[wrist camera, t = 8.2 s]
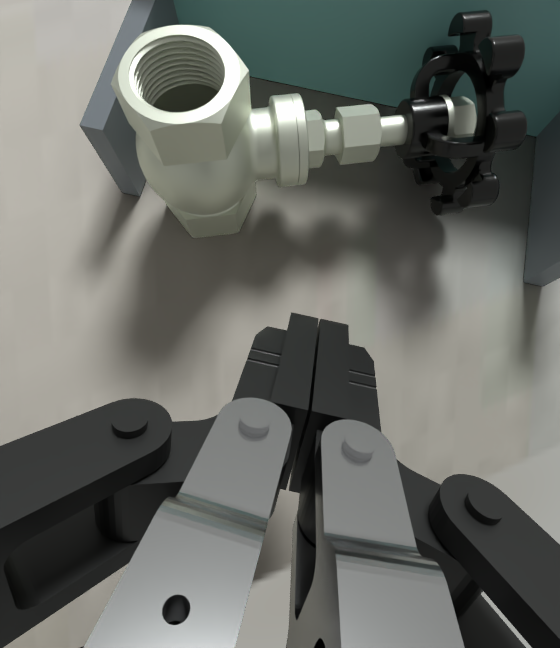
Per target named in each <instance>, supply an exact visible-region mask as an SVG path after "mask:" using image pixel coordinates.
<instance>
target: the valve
mask: <svg viewBox="0 0 560 648" xmlns="http://www.w3.org/2000/svg"><path fill="white" fill-rule="evenodd" d="M492 24H493V22H492V16H491V13H490V12H489V11H488V10H478V11H468V12H459V13H457V14H456V15H455V16H454V17H453V19H452V21H451V23H450V26H449V30H448V36H449V37H452V36H460V47H459V51H458V48H457V47H456V46H455V45H443V46H432V47H429V48H427V50H426V51H425V53H424V56H423V61H422V67H421V68H420V69H419V70H418V71H417V73H416V74H415V76H414V78H413V81H412V84H411V88H410V98H407V99H403V100H402V101H401V102H400V103H399V105H398V107H397V110H396V113H395V115H394V116H385V117H380V113H379V111H378V109H377V108H376V107H375V106H374V105H372V104H365V105H355V106H346V107H336V111H335V116H334V119H331V120H323V119H322V116H321V114H320V113H319V112H318V111H317V110H307V111H305V107H304V103H303V100H302V97H301V96H300V94H298V93H295V94H285V95H274V96H271V97H270V99H269V106H268V107H266V108H256V109H251V97H250V79H249V70H248V68H247V67H246V66H245V64H244V63H243V61H242V60H241V59H240V57H239V56H238V55H237V54H236V52H235V51H234V50H233V49H232V48H231V46H230V45H229V44H228V43H227V42H226V41H225V40H224V39H223V38H222V37H221V36H220V35H219V34H218V33H216V32H215V31H214V30H212V29H211V28H210V27H205V26H198V25H172V26H165V27H160V28H156V29H152V30H149V31H146V32H144V33H142V34H140V35H139V36H138V37H137V38H136V39H135V40H134V42H133V43H132V44H131V45H130V47H129V48H128V50H127V51H126V52H125V54H124V56H123V58H122V60H121V61H120V63H119V65H118V67H117V69H116V72H115V74H114V76H113V79H112V82H111V86H112V88H113V90H114V92H115V94H116V96H117V99H118V101H119V103H120V105H121V107H122V109H123V112H124V114H125V116H126V118H127V120H128V122H129V124H130V125H131V126H132V128H133V129H134V130H135V131H136V151H137V157H138V161H139V164H140V167H141V169H142V172H143V174H144V176H145V178H146V180H147V181H148V183H149V184H150V186H151V187H152V189H153V190H154V191H155V192H156V193H157V194H158V195H159V196H160V197H161V198H162V199H163V200H164V201H165V202H166V205H167V206H168V207H169V209H170V210H171V211H172V213H173V214H174V215H175V216H176V218H177V219H178V220H179V221H180V223H181V224H182V225H183V226H184V228H185V229H186V230H187V231H188V233H189V234H190V235H191V236H192V238H201V237H210V236H218V235H226V234H234V233H238V232H239V231H240V229H241V227H242V225H243V223H244V221H245V218H246V216H247V214H248V212H249V210H250V208H251V206H252V204H253V201H254V199H255V197H256V183H255V181H257V180H263V179H273V178H274V179H276V182H277V185H278V186H279V187H286V186H296V185H304V184H305V183H306V182H307V179H308V172H309V168H317V167H321V165H322V163H323V160H324V157H325V156H327V155H335V156H336V158H337V160H338V162H339V164H340V165H344V164H353V163H362V162H371V161H374V160H375V158H376V157H377V155H378V153H379V150H380V147H386V146H395V149H396V152H397V154H398V156H399V157H400V158H402V160H403V163H404V164H405V165H406V166H407V167H409V168H413V173H414V177H415V181H416V183H417V184H418V185H421V184H430V183H439V184H440V185H442V186H443V190H442V194H441V196H433V197H431V199H430V203H431V209H432V211H433V213H434V214H435V215H446V214H454V213H460V212H461V211H463V209H464V208H471V207H480V206H488V205H491V204H493V203H494V202H495V200H496V199H497V196H498V193H499V181H498V178H497V176H496V175H495V174H494V173H492V172H491V163H492V160H493V157H494V155H495V153H496V152H499V151H508V150H514V149H516V148H518V147H519V146H520V145H521V144H522V142H523V141H524V139H525V136H526V133H527V118H526V116H525V114H524V113H523V112H522V111H520V110H512V111H506V110H505V106H504V88H505V84H506V81H507V79H509V78H511V77H513V76H514V75H515V74H516V73H517V72H518V71H519V69H520V67H521V65H522V63H523V60H524V55H525V43H524V40H523V38H522V36H520V35H518V34H513V35H502V36H491V32H492ZM490 36H491V37H490ZM464 73H466V74H467V75H468V76H469V77H470V79H471V81H472V84H473V86H474V89H475V94H476V99H477V115H476V110H475V105H474V103H473V102H472V101H471V100H470V99H468V98H466V97H464V96H457V97H451V95H452V92H453V90H454V88H455V86H456V84H457V82H458V81H459V79H460V78H461V77H462V75H463V74H464ZM433 76H434V77H435V82H434V85H433V88H432V91H431V94H430V96H429V84H430V81H431V79H432V77H433ZM476 125H477V126H476ZM475 129H476V132H475V136H473V134H474V131H475ZM450 158H453V159H464V158H467V159H466V161H465V163H464V164H463V166H462V167H461V168H460V169H459V170H457V169H456V168H455V167H454V166H453V164H452V162H451V160H450ZM465 188H467V189H466V190H465Z"/></svg>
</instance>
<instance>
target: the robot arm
mask: <svg viewBox="0 0 560 648" xmlns="http://www.w3.org/2000/svg"><path fill="white" fill-rule="evenodd" d="M291 470H292V471H291ZM290 473H291V478H290V486H289V491H293V492H297V493H300V497H299V506H298V511H297V514H296V518H295V521H294V524H293V534H292V560H291V588H290V614H289V630H288V639H287V645H286V648H526V647H525V646H524V645H523V644H522V643H521V641H520V640H519V639H518V638H517V637H516V635H515V634H514V633H513V632H512V631H511V630H510V628H509V627H508V626H507V625H506V624H505V622H504V621H503V620H502V619H501V618H500V617H499V615H498V614H497V613H496V612H495V611H494V610H493V608H492V607H491V606H490V605H489V604H488V602H487V601H486V600H485V599H484V598H483V597H482V595H481V592H483V591H484V592H485V593H486V594H487V596H488V597H489V598H490V599H491V600H492V601H493V603H494V604H495V605H496V606H497V607H498V609H499V610H500V611H501V612H502V613H503V614H504V615H505V617H506V618H507V619H508V620H509V621H510V622H511V624H512V625H513V626H514V627H515V628H516V629H517V631H518V632H519V633H520V634H521V635H522V636H523V638H524V639H525V640H526V641H527V642H528V643H529V645H530V646H531V647H532V648H560V545H559V544H558V543H557V542H556V541H555V540H554V539H553V538H552V537H551V536H550V535H549V534H548V533H547V532H545V531H544V530H543V529H542V528H541V527H540V526H539V525H538V524H537V523H536V522H535V521H534V520H532V519H531V518H530V517H529V516H528V515H527V514H526V513H525V512H524V511H523V510H521V508H519V507H518V506H517V505H516V504H515V503H514V502H513V501H512V500H511V499H510V498H509V497H508V496H507V495H505V494H504V493H503V492H502V491H501V490H499V489H498V488H496V487H495V486H494V485H492V484H490V483H489V482H487V481H485V480H483V479H480V478H478V477H475V476H471V475H466V474H457V475H452V476H449V477H448V478H446V479H445V480H444V481H443V483H442V484H441V485H440V484H438V483H436V482H434V481H432V480H430V479H428V478H426V477H424V476H422V475H420V474H418V473H416V472H414V471H412V470H410V469H409V468H407V467H406V466H404V465H403V464H402V463H400V462H399V461H398V460H397V459H396V455H395V452H394V449H393V447H392V445H391V443H390V442H389V440H388V439H387V438H386V437H385V436H384V435H383V434H382V433H381V426H380V417H379V407H378V398H377V389H376V379H375V370H374V361H373V360H372V358H371V357H370V355H369V354H368V352H367V351H366V349H365V348H363V347H359V346H354V345H350V344H349V334H348V325H347V324H342V323H338V322H333V321H328V320H324V319H320V321H319V325H318V318H314V317H310V316H305V315H301V314H296V313H292V312H291V316H290V321H289V325H288V329H287V331H286V330H282V329H277V328H273V327H268V326H267V327H266V328H265V329H263V330H262V331H261V332H259V333H258V334H257V335H256V336H255V339H254V341H253V344H252V347H251V350H250V353H249V355H248V359H247V361H246V364H245V366H244V369H243V372H242V375H241V378H240V380H239V383H238V386H237V389H236V391H235V394H234V397H233V400H232V402H230V403H228V404H227V405H225V406H224V407H223V408H222V409H221V411H220V412H219V414H218V415H216V416H214V417H212V418H209V419H205V420H200V421H180V422H172V420H171V417H170V415H169V413H168V412H167V410H166V409H164V408H163V407H162V406H161V405H159V404H157V403H155V402H153V401H150V400H146V399H137V398H131V399H123V400H118V401H115V402H112V403H109V404H107V405H104V406H102V407H99V408H97V409H94V410H92V411H89V412H86V413H84V414H81V415H79V416H76V417H74V418H71V419H68V420H66V421H63V422H61V423H58V424H56V425H53V426H51V427H48V428H45V429H43V430H40V431H38V432H35V433H33V434H30V435H27V436H25V437H22V438H20V439H17V440H15V441H12V442H10V443H7V444H4V445H2V446H0V648H3V647H4V646H6V645H7V644H9V643H10V642H12V641H13V640H15V639H16V638H18V637H19V636H21V635H22V634H24V633H25V632H27V631H28V630H30V629H31V628H33V627H34V626H36V625H37V624H39V623H40V622H42V621H43V620H45V619H46V618H47V617H49V616H50V615H52V614H53V613H55V612H56V611H58V610H59V609H61V608H62V607H64V606H65V605H67V604H68V603H70V602H71V601H73V600H74V599H76V598H77V597H79V596H80V595H82V594H83V593H85V592H86V591H88V590H89V589H91V588H92V587H94V586H95V585H97V584H98V583H100V582H101V581H103V580H104V579H105V578H107V577H108V576H110V575H111V574H113V573H114V572H116V571H117V570H119V569H120V568H122V567H123V566H125V565H126V564H128V563H129V564H128V566H127V568H126V570H125V572H124V573H123V575H122V577H121V579H120V581H119V583H118V585H117V586H116V588H115V590H114V592H113V594H112V596H111V598H110V599H109V601H108V603H107V605H106V607H105V609H104V611H103V613H102V614H101V616H100V618H99V620H98V622H97V624H96V626H95V627H94V629H93V631H92V633H91V635H90V637H89V639H88V641H87V642H86V644H85V646H83V647H80V648H235V645H236V641H237V638H238V634H239V630H240V626H241V622H242V619H243V615H244V611H245V607H246V603H247V600H248V596H249V592H250V588H251V584H252V580H253V577H254V573H255V569H256V565H257V561H258V558H259V554H260V550H261V546H262V542H263V539H264V535H265V531H266V527H267V523H268V520H269V519H270V517H271V516H272V514H273V512H274V509H275V505H276V502H277V498H278V494H279V491H280V489H283V490H286V487H287V484H288V480H289V477H290Z"/></svg>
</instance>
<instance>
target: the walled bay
mask: <svg viewBox="0 0 560 648" xmlns="http://www.w3.org/2000/svg"><path fill="white" fill-rule="evenodd" d="M478 10H488V11H489V12H490V13H491V16H492V22H493V24H492V32H491V36H502V35H513V34H518V35H520V36H522V38H523V40H524V43H525V55H524V60H523V63H522V65H521V67H520V69H519V71H518V72H517V73H516V74H515V75H514V76H513V77H511V78H509V79H507V81H506V84H505V88H504V106H505V110H506V111H512V110H520V111H522V112H523V113H524V114H525V116H526V118H527V133H526V135H531V136H535V137H536V147H535V158H534V170H533V181H532V192H531V204H530V215H529V226H528V237H527V249H526V260H525V271H524V282H525V283H530V284H534V285H539V286H545V285H547V284H549V283H551V282H552V281H554V280H556V279H558V278H560V0H132V2H131V4H130V6H129V9H128V11H127V14H126V16H125V18H124V21H123V23H122V25H121V28H120V30H119V33H118V35H117V37H116V40H115V42H114V44H113V47H112V49H111V52H110V54H109V56H108V59H107V61H106V63H105V66H104V68H103V71H102V73H101V75H100V78H99V80H98V82H97V85H96V87H95V90H94V92H93V94H92V97H91V99H90V102H89V104H88V106H87V109H86V111H85V113H84V116H83V118H82V121H81V123H80V127H81V128H82V130H83V131H84V133H85V135H86V136H87V138H88V139H89V141H90V142H91V144H92V146H93V147H94V149H95V150H96V152H97V154H98V155H99V157H100V158H101V160H102V162H103V163H104V165H105V166H106V168H107V169H108V171H109V173H110V174H111V176H112V177H113V179H114V181H115V182H116V184H117V185H118V187H119V189H120V190H121V192H122V193H127V194H131V195H136V196H140V195H141V192H142V190H143V187H144V184H145V181H146V178H145V176H144V174H143V172H142V169H141V167H140V164H139V161H138V157H137V151H136V131H135V130H134V129H133V128H132V126H131V125H130V124H129V122H128V120H127V118H126V116H125V114H124V112H123V109H122V107H121V105H120V103H119V101H118V99H117V96H116V94H115V92H114V90H113V88H112V86H111V82H112V79H113V76H114V74H115V72H116V69H117V67H118V65H119V63H120V61H121V60H122V58H123V56H124V54H125V52H126V51H127V50H128V48H129V47H130V45H131V44H132V43H133V42H134V40H135V39H136V38H137V37H138V36H139V35H140V34H142V33H144V32H146V31H149V30H152V29H156V28H160V27H165V26H172V25H198V26H205V27H210V28H211V29H212V30H214V31H215V32H216V33H218V34H219V35H220V36H221V37H222V38H223V39H224V40H225V41H226V42H227V43H228V44H229V45H230V46H231V48H232V49H233V50H234V51H235V52H236V54H237V55H238V56H239V57H240V59H241V60H242V61H243V63H244V64H245V66H246V67H247V68H248V70H249V76H251V77H256V78H261V79H265V80H270V81H275V82H279V83H284V84H289V85H294V86H298V87H303V88H308V89H313V90H317V91H322V92H327V93H332V94H336V95H341V96H346V97H351V98H355V99H360V100H365V101H369V102H374V103H379V104H384V105H388V106H393V107H398V105H399V103H400V102H401V101H402V100H403V99H407V98H410V88H411V84H412V81H413V78H414V76H415V74H416V73H417V71H418V70H419V69H420V68H421V67H422V61H423V56H424V53H425V51H426V50H427V48H429V47H432V46H443V45H455V46H456V47H457V48H458V51H459V47H460V36H452V37H449V36H448V30H449V26H450V23H451V21H452V19H453V17H454V16H455V15H456V14H457V13H459V12H468V11H478ZM491 36H490V37H491ZM434 82H435V77H434V76H433V77H432V79H431V81H430V84H429V96H430V94H431V91H432V88H433V85H434ZM457 96H464V97H466V98H468V99H470V100H471V101H472V102H473V103H474V105H475V110H476V115H477V99H476V94H475V89H474V86H473V84H472V81H471V79H470V77H469V76H468V75H467V74H466V73H464V74H463V75H462V77H461V78H460V79H459V81H458V82H457V84H456V86H455V88H454V90H453V92H452V95H451V97H457Z"/></svg>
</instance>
